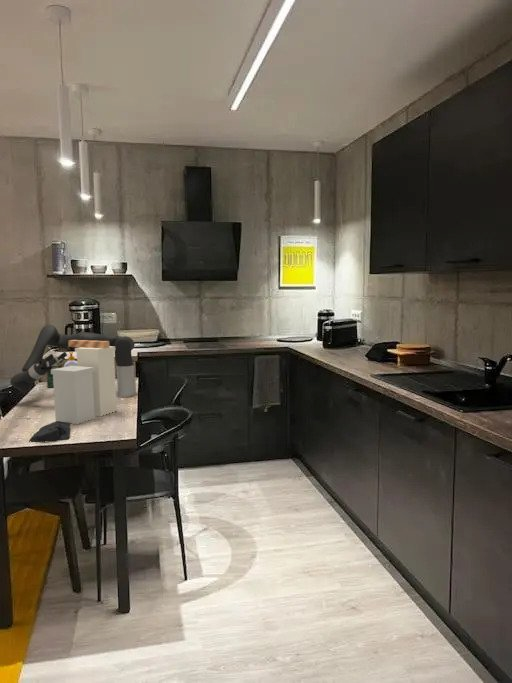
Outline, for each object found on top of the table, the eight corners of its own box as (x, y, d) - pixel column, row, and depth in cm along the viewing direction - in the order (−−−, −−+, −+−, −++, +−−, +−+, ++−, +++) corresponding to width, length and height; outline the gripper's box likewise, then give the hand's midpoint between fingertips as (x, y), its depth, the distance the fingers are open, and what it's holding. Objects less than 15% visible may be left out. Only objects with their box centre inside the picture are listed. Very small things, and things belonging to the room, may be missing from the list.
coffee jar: (46, 388, 310) (44, 358, 309) (48, 386, 318) (46, 357, 316) (63, 387, 313) (61, 357, 311) (64, 385, 321) (62, 356, 319)
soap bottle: (65, 391, 300) (62, 353, 298) (65, 389, 307) (63, 351, 305) (81, 390, 303) (79, 352, 301) (81, 388, 310) (79, 351, 308)
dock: (54, 421, 230) (50, 369, 227) (73, 415, 241) (71, 365, 238) (77, 424, 224) (74, 371, 221) (96, 418, 235) (93, 367, 232)
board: (68, 346, 247) (68, 340, 247) (74, 345, 251) (74, 339, 250) (103, 348, 238) (103, 341, 237) (109, 347, 241) (109, 341, 241)
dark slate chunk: (76, 427, 222) (75, 416, 222) (68, 441, 201) (67, 429, 200) (38, 429, 219) (38, 418, 218) (27, 444, 198) (26, 432, 197)
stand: (78, 414, 243) (74, 348, 240) (96, 408, 254) (92, 345, 251) (101, 417, 237) (97, 349, 234) (118, 411, 248) (115, 346, 245)
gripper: (25, 364, 254) (44, 349, 247) (48, 360, 266) (67, 346, 260) (31, 377, 253) (51, 363, 246) (53, 373, 266) (73, 359, 259)
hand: (59, 354), depth 253 cm, fingers open, 8 cm apart
